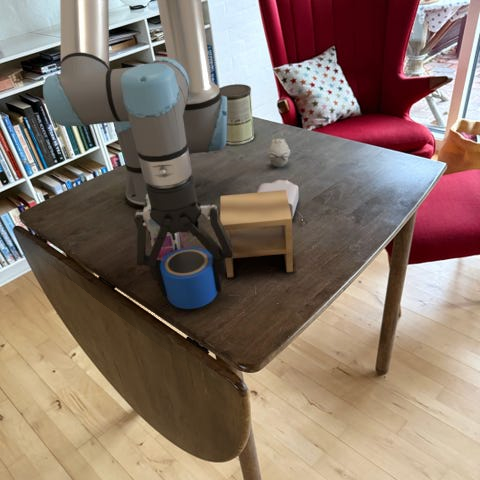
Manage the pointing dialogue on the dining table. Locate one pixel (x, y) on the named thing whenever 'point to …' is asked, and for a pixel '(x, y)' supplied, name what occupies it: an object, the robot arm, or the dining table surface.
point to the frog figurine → (278, 152)
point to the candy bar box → (171, 240)
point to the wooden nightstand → (257, 226)
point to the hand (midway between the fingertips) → (192, 289)
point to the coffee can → (238, 113)
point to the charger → (283, 185)
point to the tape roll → (189, 277)
